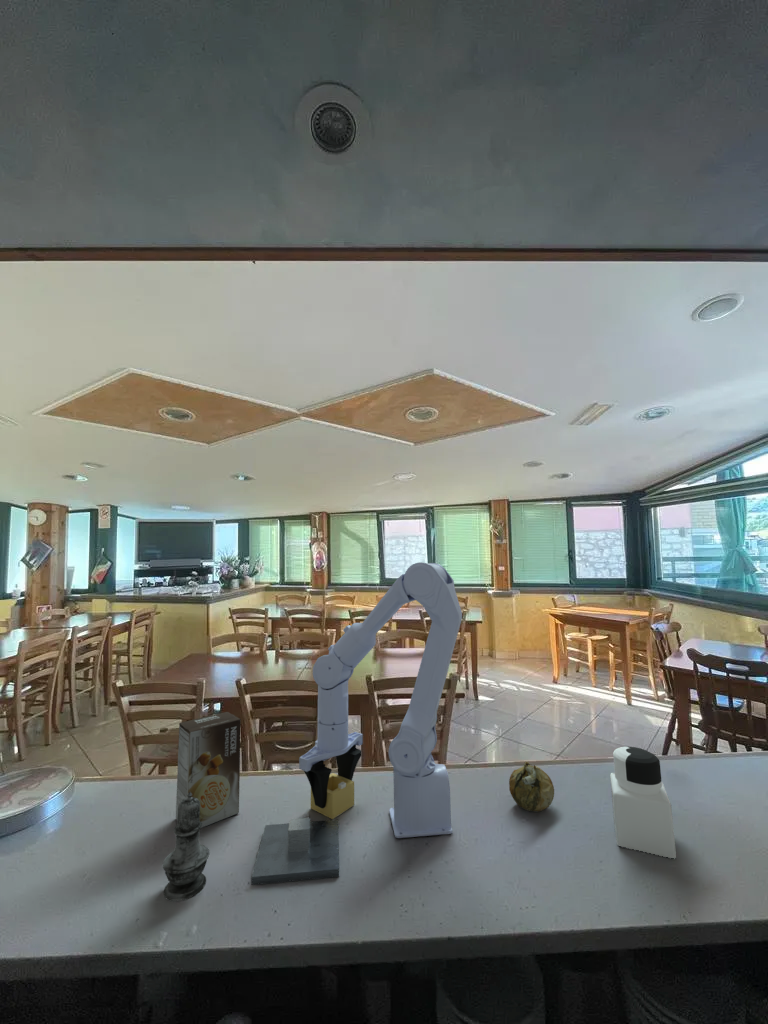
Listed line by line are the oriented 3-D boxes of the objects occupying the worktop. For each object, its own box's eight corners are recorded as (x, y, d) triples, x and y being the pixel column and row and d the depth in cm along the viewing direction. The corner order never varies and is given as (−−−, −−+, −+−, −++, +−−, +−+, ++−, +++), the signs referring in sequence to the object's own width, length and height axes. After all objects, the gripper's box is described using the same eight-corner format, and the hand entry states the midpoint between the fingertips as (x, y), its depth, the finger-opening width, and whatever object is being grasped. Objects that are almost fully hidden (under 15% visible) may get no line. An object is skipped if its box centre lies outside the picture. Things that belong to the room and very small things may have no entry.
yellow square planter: (332, 795, 81) (332, 769, 81) (354, 805, 77) (354, 778, 78) (310, 808, 76) (310, 781, 77) (332, 819, 73) (332, 790, 74)
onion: (565, 815, 73) (562, 766, 75) (525, 822, 72) (522, 772, 73) (539, 793, 81) (537, 748, 82) (502, 799, 79) (500, 753, 80)
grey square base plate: (338, 825, 71) (338, 800, 72) (339, 876, 59) (339, 845, 60) (265, 831, 70) (266, 805, 70) (251, 885, 58) (252, 853, 58)
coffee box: (226, 799, 80) (229, 710, 82) (239, 813, 75) (242, 718, 77) (173, 818, 74) (178, 721, 76) (185, 835, 69) (190, 731, 71)
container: (667, 831, 69) (659, 746, 70) (677, 861, 62) (668, 766, 64) (613, 820, 72) (607, 739, 74) (617, 847, 65) (610, 757, 67)
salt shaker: (190, 906, 54) (195, 805, 56) (151, 899, 56) (156, 801, 57) (217, 874, 60) (220, 783, 62) (180, 868, 61) (185, 779, 63)
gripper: (344, 705, 87) (344, 776, 85) (288, 726, 76) (286, 808, 74) (370, 712, 83) (370, 787, 81) (315, 735, 71) (314, 823, 70)
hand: (332, 798), depth 77 cm, fingers closed on yellow square planter, 6 cm apart
